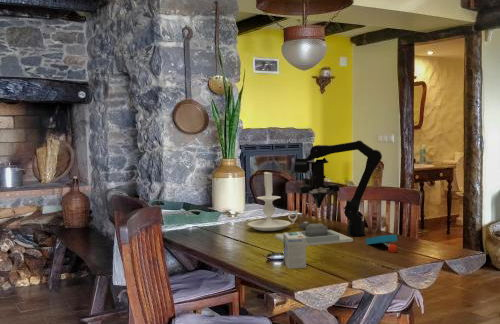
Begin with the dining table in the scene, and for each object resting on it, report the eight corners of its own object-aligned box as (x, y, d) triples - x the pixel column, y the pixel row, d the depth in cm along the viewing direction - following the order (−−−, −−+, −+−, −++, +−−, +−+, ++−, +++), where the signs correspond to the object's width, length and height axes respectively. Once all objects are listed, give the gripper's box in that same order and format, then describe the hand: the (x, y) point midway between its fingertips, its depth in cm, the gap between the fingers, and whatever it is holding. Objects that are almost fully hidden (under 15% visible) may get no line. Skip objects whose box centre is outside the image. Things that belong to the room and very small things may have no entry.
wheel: (309, 226, 248) (309, 220, 248) (314, 228, 242) (314, 222, 242) (297, 227, 246) (297, 221, 246) (302, 229, 241) (302, 223, 241)
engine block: (322, 236, 237) (322, 222, 237) (327, 238, 232) (327, 224, 232) (305, 237, 235) (305, 224, 234) (310, 240, 230) (309, 226, 230)
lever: (367, 256, 224) (387, 253, 207) (365, 238, 226) (384, 234, 209) (383, 254, 226) (403, 252, 209) (381, 237, 227) (401, 233, 210)
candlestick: (304, 232, 254) (303, 171, 252) (252, 235, 250) (250, 174, 248) (293, 224, 274) (291, 168, 272) (244, 227, 270) (242, 170, 268)
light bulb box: (283, 261, 200) (282, 232, 200) (301, 260, 201) (300, 231, 200) (287, 269, 190) (287, 238, 189) (307, 268, 190) (306, 237, 190)
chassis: (330, 232, 252) (330, 225, 252) (353, 241, 231) (353, 233, 230) (274, 237, 244) (274, 230, 244) (293, 247, 223) (292, 239, 223)
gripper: (329, 170, 257) (329, 204, 258) (291, 172, 251) (292, 206, 252) (339, 172, 246) (340, 207, 247) (301, 174, 241) (301, 210, 242)
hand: (318, 207), depth 247 cm, fingers closed
